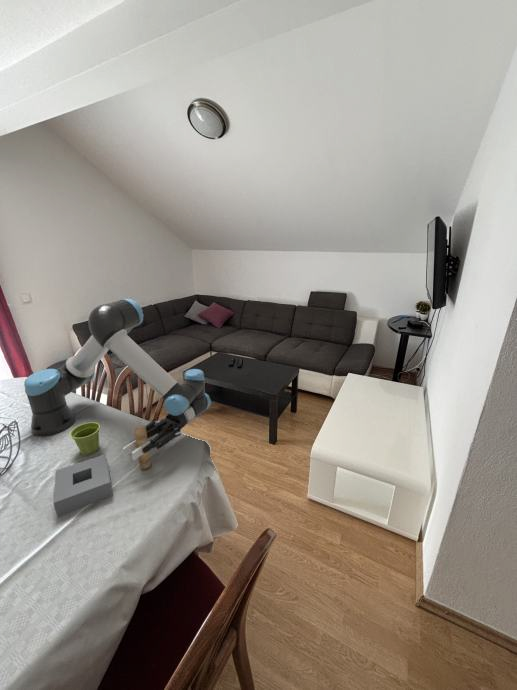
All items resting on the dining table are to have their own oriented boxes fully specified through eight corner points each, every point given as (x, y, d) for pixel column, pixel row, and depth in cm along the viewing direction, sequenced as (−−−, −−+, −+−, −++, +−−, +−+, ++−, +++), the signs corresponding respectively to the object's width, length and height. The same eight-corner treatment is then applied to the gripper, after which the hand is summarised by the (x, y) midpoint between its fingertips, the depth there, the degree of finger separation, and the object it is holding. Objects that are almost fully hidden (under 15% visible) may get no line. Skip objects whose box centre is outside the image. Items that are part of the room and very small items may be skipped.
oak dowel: (139, 464, 98) (133, 428, 93) (149, 460, 99) (144, 424, 94) (141, 471, 95) (135, 433, 90) (152, 467, 97) (146, 430, 92)
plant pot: (91, 460, 100) (86, 439, 97) (68, 456, 102) (63, 436, 99) (109, 443, 109) (105, 423, 106) (88, 439, 110) (84, 420, 108)
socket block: (59, 482, 90) (55, 470, 89) (108, 466, 97) (105, 454, 96) (57, 516, 79) (53, 502, 77) (112, 494, 86) (110, 482, 84)
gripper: (197, 431, 107) (148, 473, 87) (165, 419, 114) (113, 455, 94) (196, 414, 104) (145, 453, 85) (163, 403, 111) (109, 436, 92)
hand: (128, 454), depth 90 cm, fingers closed on oak dowel, 3 cm apart
